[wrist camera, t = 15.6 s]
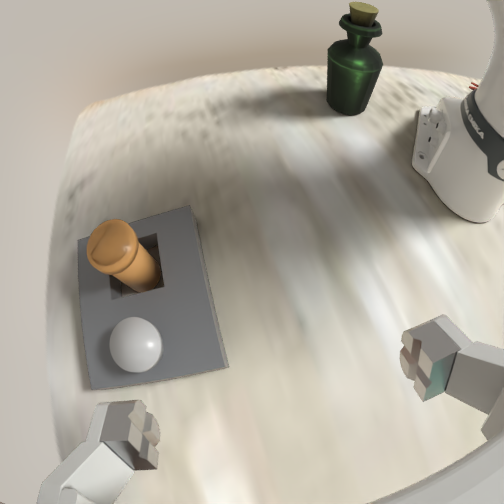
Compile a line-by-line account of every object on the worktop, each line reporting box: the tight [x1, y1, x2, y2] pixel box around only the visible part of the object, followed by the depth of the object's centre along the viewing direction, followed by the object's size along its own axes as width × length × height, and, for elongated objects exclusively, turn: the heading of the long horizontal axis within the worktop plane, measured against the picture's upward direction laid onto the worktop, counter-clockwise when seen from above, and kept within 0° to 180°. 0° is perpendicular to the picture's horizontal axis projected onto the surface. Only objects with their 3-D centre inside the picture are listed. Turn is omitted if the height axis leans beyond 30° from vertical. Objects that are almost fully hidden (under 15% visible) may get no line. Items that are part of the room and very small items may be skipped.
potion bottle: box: [327, 2, 383, 115], centre depth 35 cm, size 8×8×18 cm
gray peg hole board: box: [78, 205, 229, 390], centre depth 31 cm, size 18×15×6 cm
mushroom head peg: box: [87, 219, 161, 292], centre depth 31 cm, size 5×5×9 cm
